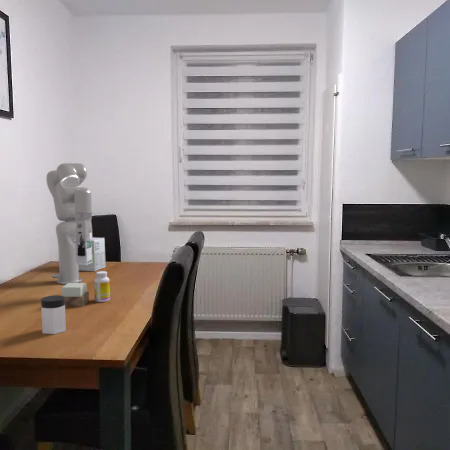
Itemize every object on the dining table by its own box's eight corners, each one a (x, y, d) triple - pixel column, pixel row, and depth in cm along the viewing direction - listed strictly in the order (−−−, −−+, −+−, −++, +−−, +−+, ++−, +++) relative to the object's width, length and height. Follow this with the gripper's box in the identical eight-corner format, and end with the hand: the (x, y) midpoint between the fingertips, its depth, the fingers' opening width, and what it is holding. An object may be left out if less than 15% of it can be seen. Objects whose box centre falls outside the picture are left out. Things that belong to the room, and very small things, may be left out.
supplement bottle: (113, 299, 208) (112, 271, 206) (104, 303, 201) (103, 274, 200) (100, 297, 210) (99, 270, 208) (91, 301, 203) (90, 273, 202)
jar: (59, 324, 172) (58, 293, 171) (71, 329, 167) (70, 297, 166) (36, 331, 166) (35, 298, 164) (48, 336, 160) (47, 302, 159)
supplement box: (106, 267, 278) (105, 237, 275) (95, 271, 265) (94, 240, 263) (80, 265, 281) (79, 236, 279) (68, 270, 269) (67, 239, 267)
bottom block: (61, 307, 196) (61, 296, 195) (68, 301, 205) (68, 291, 204) (82, 307, 196) (82, 296, 195) (89, 301, 205) (88, 291, 204)
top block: (62, 296, 196) (61, 287, 195) (68, 291, 204) (68, 282, 203) (80, 296, 196) (80, 287, 195) (86, 291, 204) (86, 283, 203)
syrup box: (87, 265, 210) (86, 234, 208) (75, 264, 211) (74, 233, 209) (93, 262, 215) (92, 232, 213) (81, 261, 217) (80, 231, 214)
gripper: (85, 218, 201) (86, 258, 204) (96, 213, 218) (97, 250, 221) (68, 218, 202) (69, 258, 204) (81, 213, 219) (82, 250, 221)
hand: (83, 254), depth 213 cm, fingers closed on syrup box, 6 cm apart
